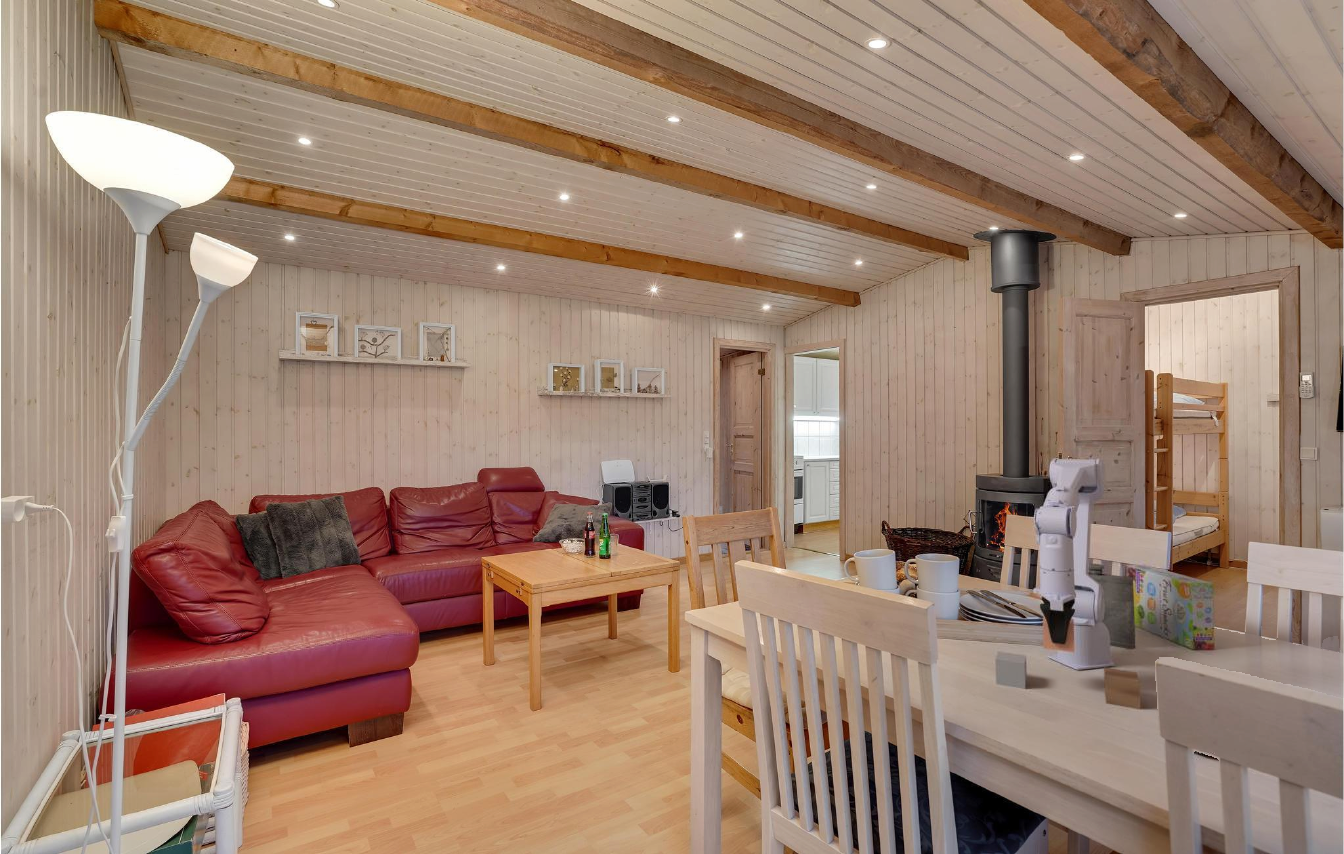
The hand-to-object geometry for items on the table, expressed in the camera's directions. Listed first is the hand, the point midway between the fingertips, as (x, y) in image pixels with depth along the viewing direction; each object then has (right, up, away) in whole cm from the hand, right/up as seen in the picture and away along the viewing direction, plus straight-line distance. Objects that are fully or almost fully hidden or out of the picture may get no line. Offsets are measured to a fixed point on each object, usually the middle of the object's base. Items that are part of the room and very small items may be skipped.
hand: (1058, 638), depth 120 cm
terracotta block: (0, -1, 0) cm, 1 cm away
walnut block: (+7, -9, -7) cm, 14 cm away
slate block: (-7, -10, +3) cm, 13 cm away
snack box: (+44, -9, +29) cm, 53 cm away
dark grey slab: (+25, -10, +26) cm, 37 cm away
